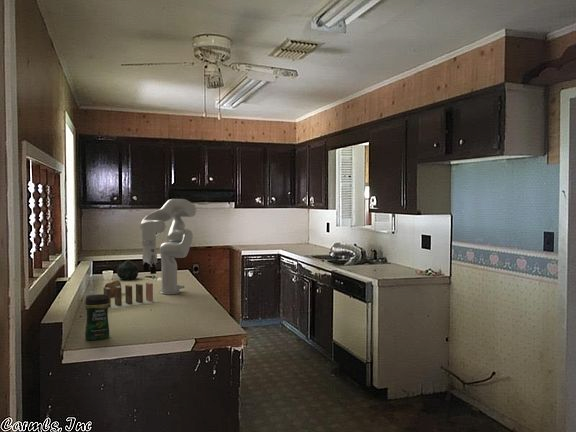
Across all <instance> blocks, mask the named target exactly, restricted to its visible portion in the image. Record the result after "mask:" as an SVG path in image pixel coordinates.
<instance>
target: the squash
mask: <svg viewBox="0 0 576 432" xmlns="http://www.w3.org/2000/svg"><path fill="white" fill-rule="evenodd" d="M116 274H117V277H118V278H119V279H121V280H127V281H132V280H135V279H137V277H138V276H139V267H138V265H137V264H136V263H135V262H134V261H132V260H130V259H128V260H125V261H123V262H122V263H120V264H119V265H118V267H117V269H116Z"/></svg>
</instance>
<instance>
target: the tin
mask: <svg viewBox="0 0 576 432" xmlns="http://www.w3.org/2000/svg"><path fill="white" fill-rule="evenodd" d="M115 286H119V287H122V284H121V281H119V280H112V281H109V282H107V283H106V284H105V285H104V287H103V289H104V288H105V287H108V288H110V289H111V297H115Z"/></svg>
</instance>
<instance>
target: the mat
mask: <svg viewBox="0 0 576 432" xmlns="http://www.w3.org/2000/svg"><path fill="white" fill-rule="evenodd" d="M159 302H160V301H159V300H155V299H154V298H153V301H150V302H149V301H147V300H146V298H143V303H138V302H136V299H134V300H133V299H132V304H127V303H126V301H122V306H117V305H115V302H113V303H112V302H111V307H108V310H111V309H117V308H123V307H124V308H125V307H131V306H137V305H138V306H139V305H145V304H146V305H147V304H152V303H159Z"/></svg>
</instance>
